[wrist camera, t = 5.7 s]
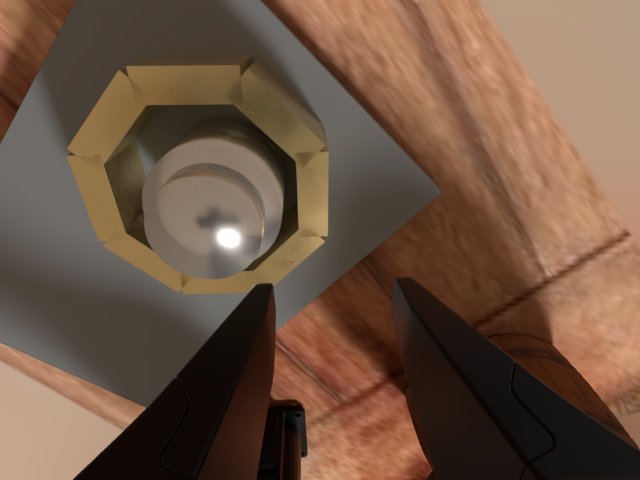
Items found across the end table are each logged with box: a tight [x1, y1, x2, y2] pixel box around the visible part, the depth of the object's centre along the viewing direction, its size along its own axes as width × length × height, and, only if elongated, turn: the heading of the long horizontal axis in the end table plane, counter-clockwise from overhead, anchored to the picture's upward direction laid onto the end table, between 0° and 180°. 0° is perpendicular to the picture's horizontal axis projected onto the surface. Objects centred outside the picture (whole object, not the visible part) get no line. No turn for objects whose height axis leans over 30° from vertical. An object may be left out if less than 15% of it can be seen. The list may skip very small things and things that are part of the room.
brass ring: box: [67, 56, 329, 294], centre depth 16 cm, size 9×9×3 cm
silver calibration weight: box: [142, 117, 286, 279], centre depth 15 cm, size 5×5×6 cm
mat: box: [0, 0, 442, 407], centre depth 20 cm, size 24×16×2 cm, turn 136°
